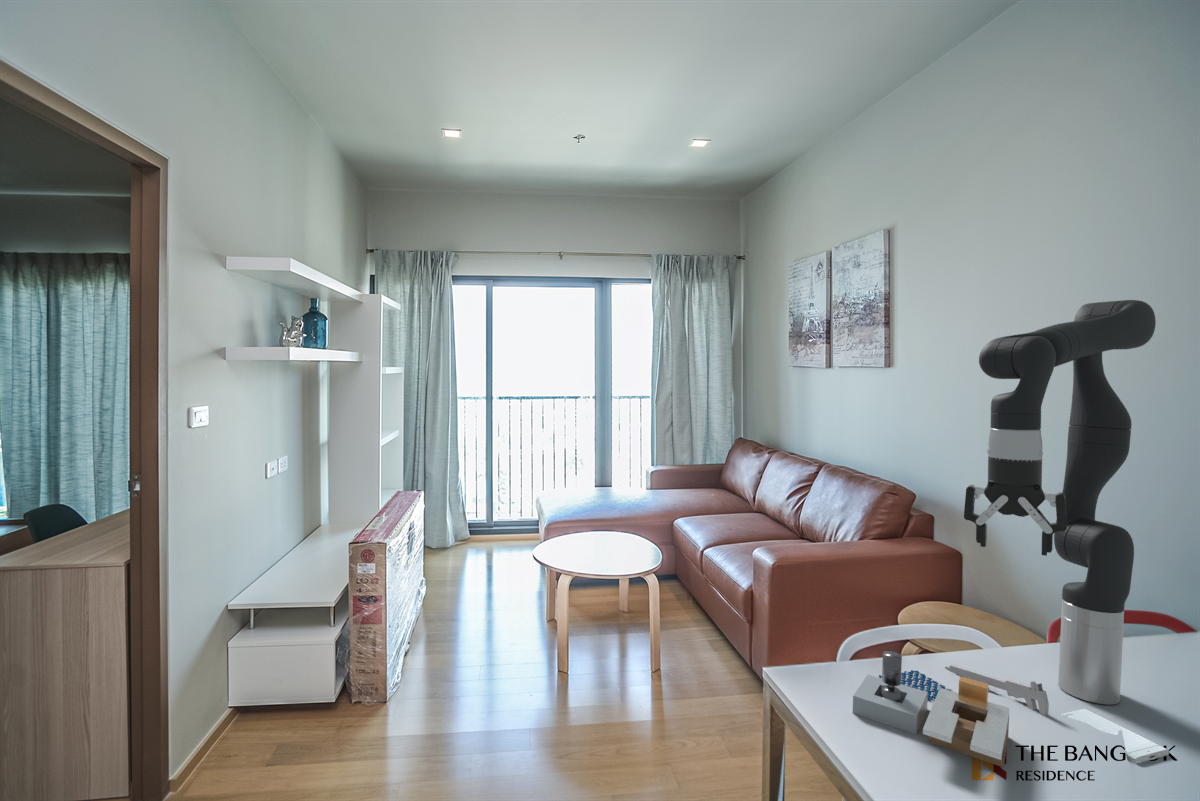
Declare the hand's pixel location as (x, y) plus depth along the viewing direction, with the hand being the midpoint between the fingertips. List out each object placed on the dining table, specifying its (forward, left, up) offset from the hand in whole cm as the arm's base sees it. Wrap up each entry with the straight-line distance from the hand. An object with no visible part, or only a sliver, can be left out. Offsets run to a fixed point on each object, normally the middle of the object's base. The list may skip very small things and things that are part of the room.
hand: (1012, 550), depth 102 cm
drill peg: (+9, -16, -30) cm, 35 cm away
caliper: (-13, -3, -31) cm, 34 cm away
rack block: (+9, -16, -31) cm, 36 cm away
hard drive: (-8, +14, -32) cm, 35 cm away
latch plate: (+13, -4, -26) cm, 29 cm away
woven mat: (-4, -14, -32) cm, 35 cm away
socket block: (+10, -4, -31) cm, 33 cm away
